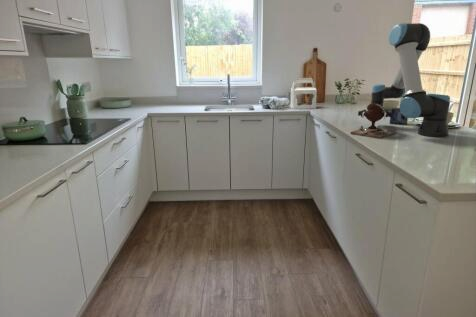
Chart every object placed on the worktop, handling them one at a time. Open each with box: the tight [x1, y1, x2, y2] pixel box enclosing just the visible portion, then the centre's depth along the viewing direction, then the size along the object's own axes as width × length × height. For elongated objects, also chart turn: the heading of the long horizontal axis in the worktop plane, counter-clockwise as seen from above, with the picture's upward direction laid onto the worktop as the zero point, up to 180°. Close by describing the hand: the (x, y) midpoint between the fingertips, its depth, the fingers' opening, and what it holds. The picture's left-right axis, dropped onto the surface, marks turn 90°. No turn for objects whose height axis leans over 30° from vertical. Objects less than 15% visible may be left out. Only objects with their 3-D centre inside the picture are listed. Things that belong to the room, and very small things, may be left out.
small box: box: [389, 107, 409, 125], centre depth 218 cm, size 11×6×10 cm, turn 68°
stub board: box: [350, 125, 396, 139], centre depth 191 cm, size 18×18×4 cm
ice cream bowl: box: [364, 102, 385, 129], centre depth 188 cm, size 11×11×15 cm
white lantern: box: [289, 77, 318, 110], centre depth 303 cm, size 22×13×28 cm, turn 92°
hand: (373, 116), depth 185 cm, fingers closed on ice cream bowl, 11 cm apart
